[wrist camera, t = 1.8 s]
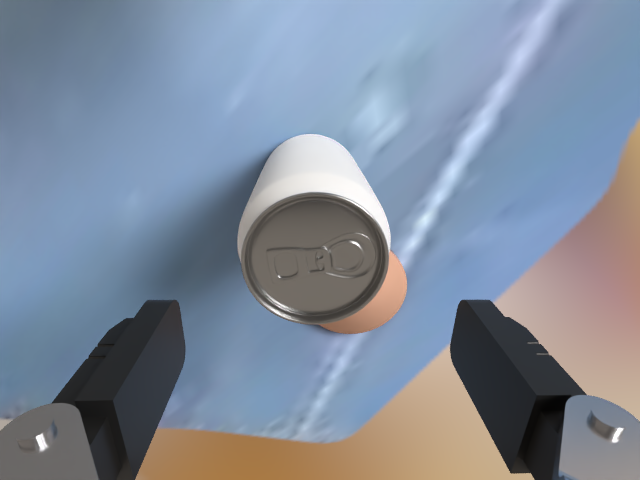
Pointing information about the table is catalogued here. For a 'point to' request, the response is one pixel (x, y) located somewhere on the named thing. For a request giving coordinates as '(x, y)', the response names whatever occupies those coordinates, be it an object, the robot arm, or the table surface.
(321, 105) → the table surface
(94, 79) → the table surface
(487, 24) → the table surface
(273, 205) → the can
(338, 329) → the peach round disc
